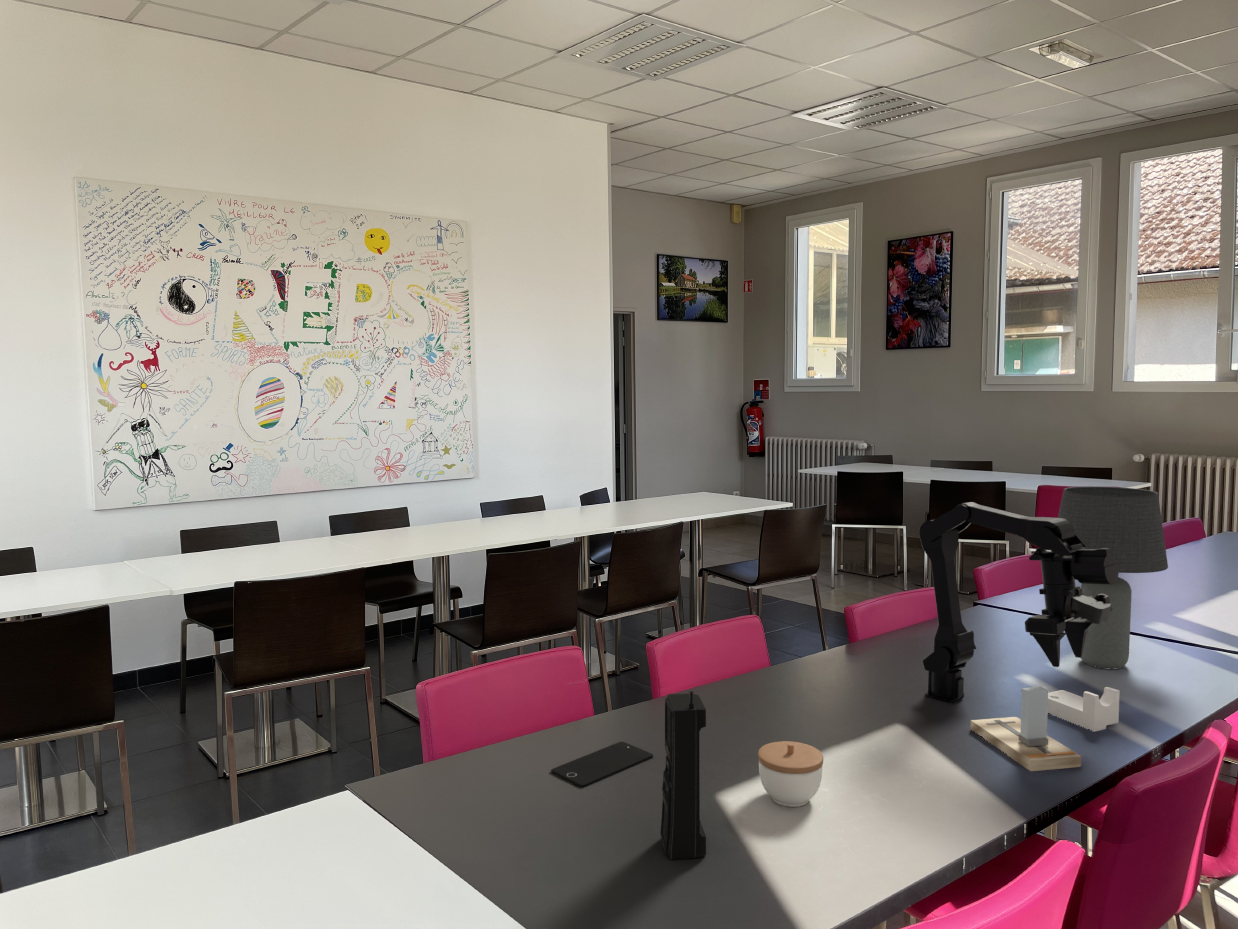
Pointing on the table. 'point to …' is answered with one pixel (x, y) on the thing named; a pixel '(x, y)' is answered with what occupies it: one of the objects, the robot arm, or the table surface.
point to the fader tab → (1034, 716)
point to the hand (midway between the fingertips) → (1067, 662)
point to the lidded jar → (790, 772)
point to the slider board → (1031, 757)
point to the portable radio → (682, 777)
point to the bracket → (1086, 708)
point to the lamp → (1116, 556)
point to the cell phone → (601, 764)
